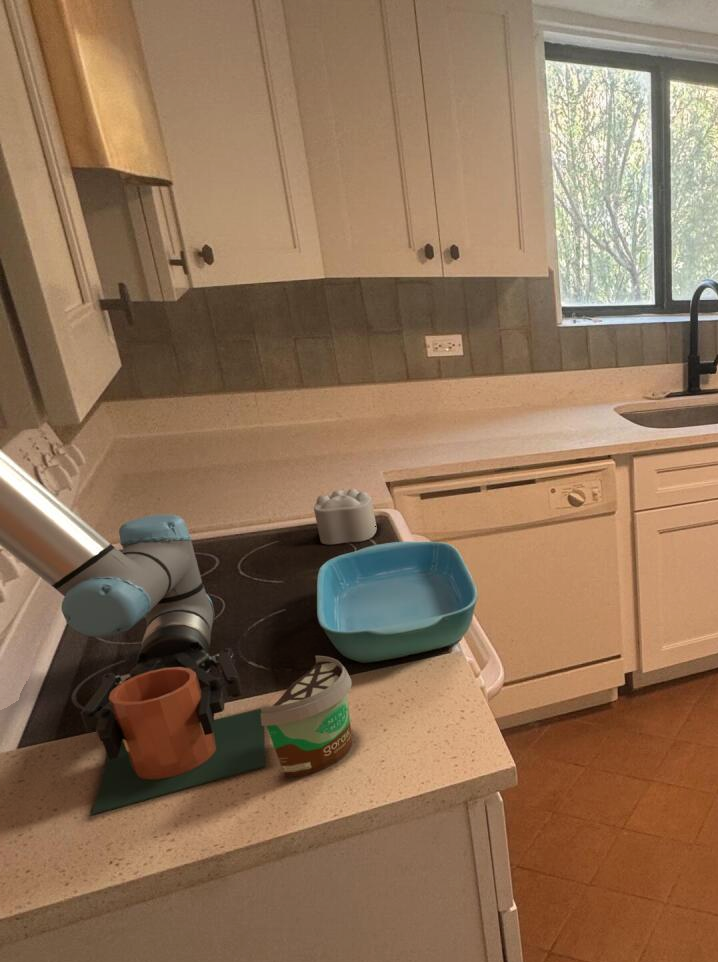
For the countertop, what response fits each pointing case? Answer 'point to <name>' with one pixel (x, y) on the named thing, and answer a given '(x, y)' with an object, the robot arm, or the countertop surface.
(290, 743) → the food container
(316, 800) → the countertop surface
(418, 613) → the casserole dish
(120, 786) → the mat
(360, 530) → the lumpy-topped squat cylinder
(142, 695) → the cup
